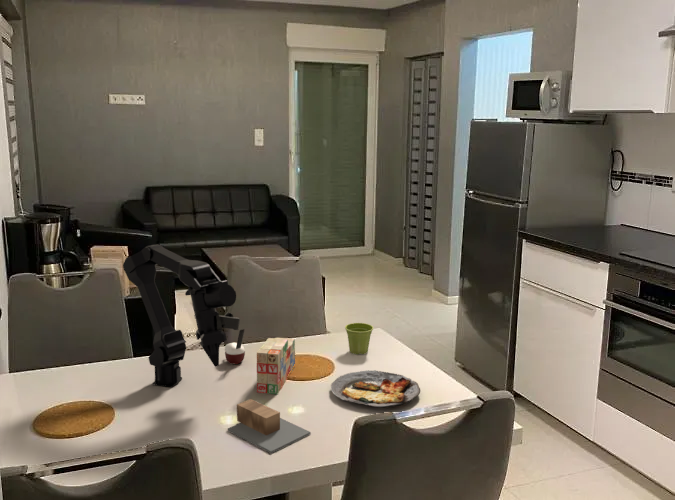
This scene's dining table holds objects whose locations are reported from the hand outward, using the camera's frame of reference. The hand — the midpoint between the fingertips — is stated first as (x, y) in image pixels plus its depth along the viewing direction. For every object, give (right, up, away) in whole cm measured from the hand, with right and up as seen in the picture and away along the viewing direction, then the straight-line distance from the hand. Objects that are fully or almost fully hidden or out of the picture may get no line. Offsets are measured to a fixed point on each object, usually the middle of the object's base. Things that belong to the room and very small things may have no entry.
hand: (216, 366), depth 172 cm
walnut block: (+9, -10, -9) cm, 16 cm away
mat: (+16, -14, -14) cm, 25 cm away
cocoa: (0, -5, +31) cm, 31 cm away
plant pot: (+40, -3, +42) cm, 58 cm away
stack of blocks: (+14, -7, +18) cm, 25 cm away
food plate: (+43, -10, +10) cm, 46 cm away
